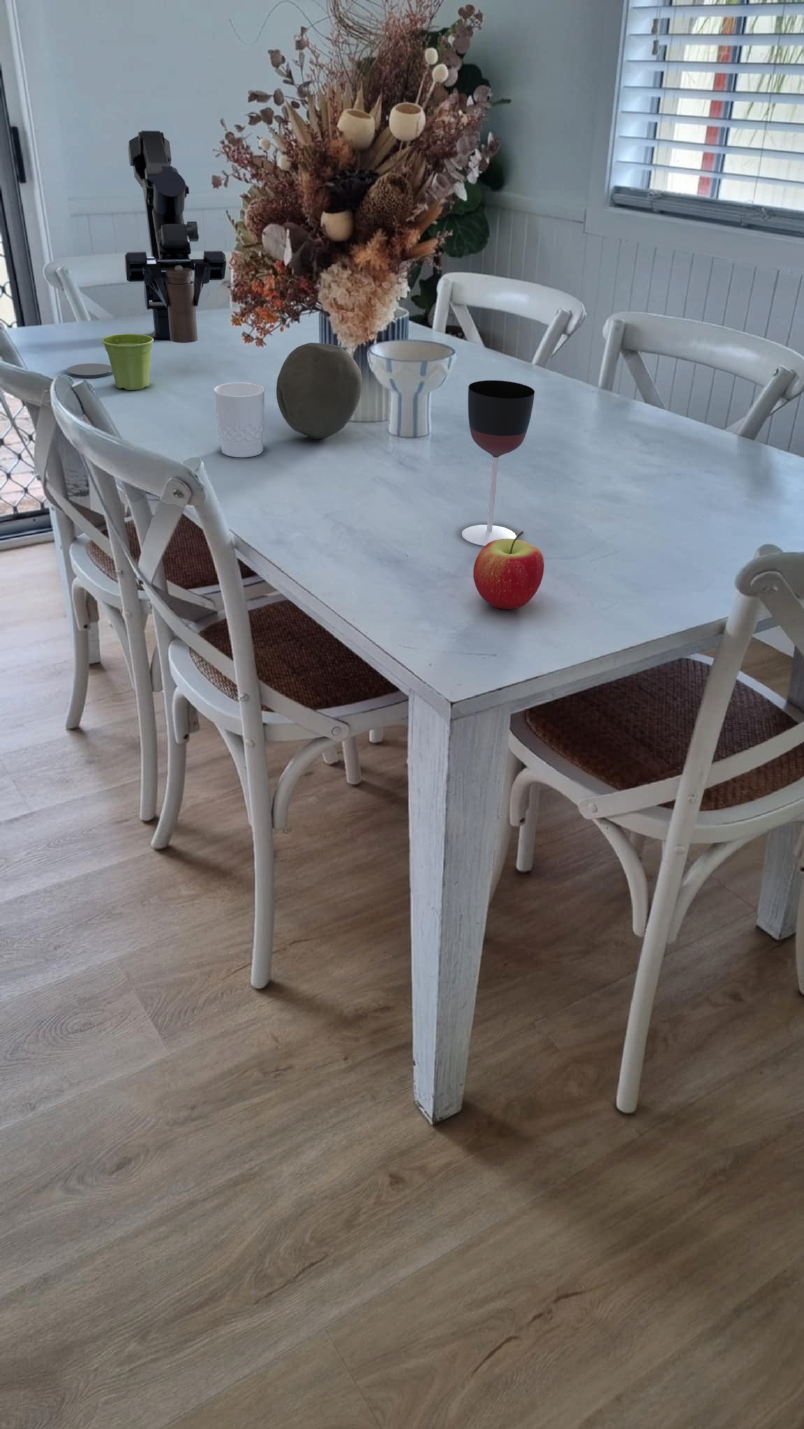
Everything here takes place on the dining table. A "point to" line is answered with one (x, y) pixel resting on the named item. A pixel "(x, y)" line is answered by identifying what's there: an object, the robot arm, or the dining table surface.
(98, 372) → the coaster
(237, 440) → the white cup
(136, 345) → the plant pot
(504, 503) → the dining table surface
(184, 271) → the pepper mill
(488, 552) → the apple
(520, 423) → the wineglass
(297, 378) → the smooth river stone
